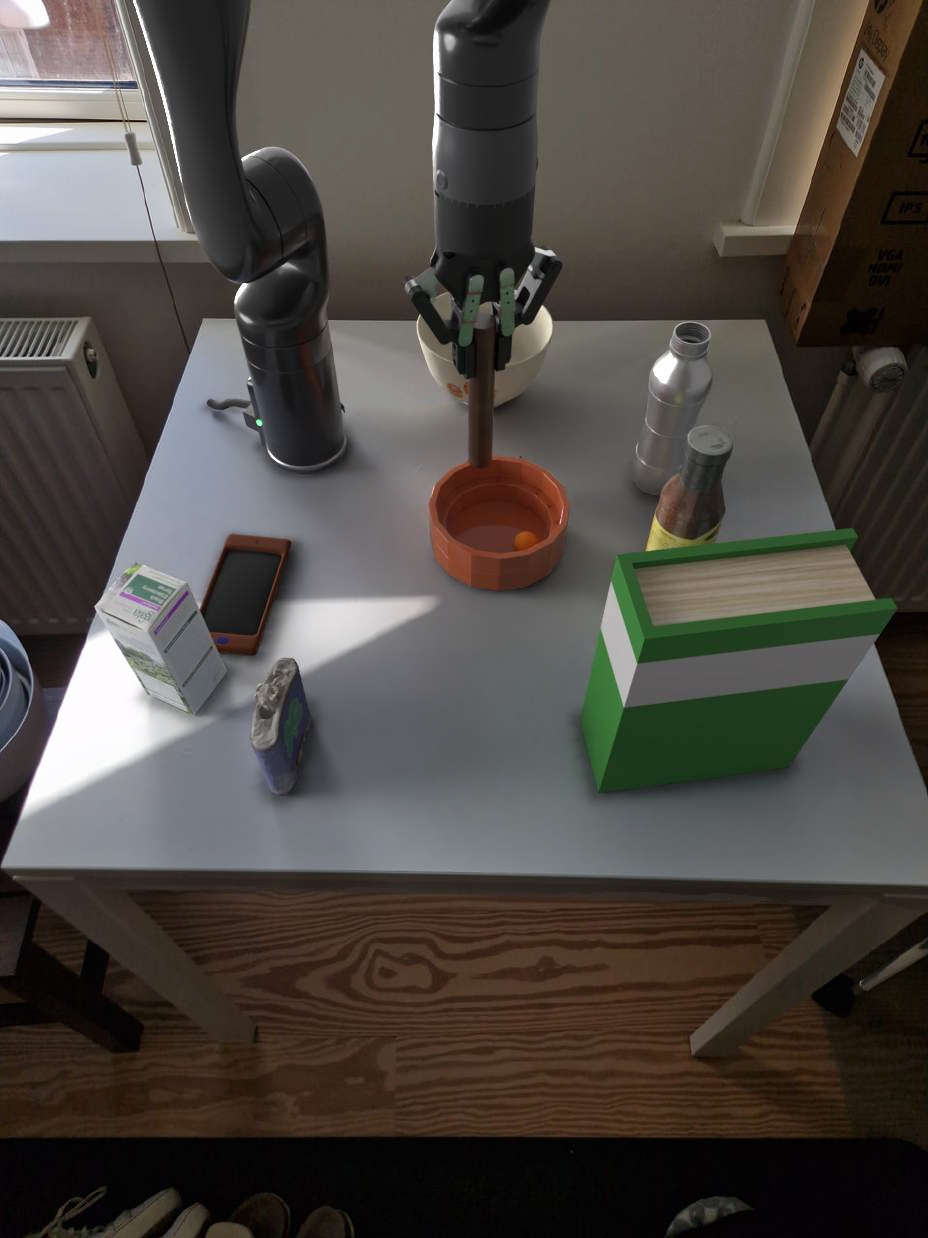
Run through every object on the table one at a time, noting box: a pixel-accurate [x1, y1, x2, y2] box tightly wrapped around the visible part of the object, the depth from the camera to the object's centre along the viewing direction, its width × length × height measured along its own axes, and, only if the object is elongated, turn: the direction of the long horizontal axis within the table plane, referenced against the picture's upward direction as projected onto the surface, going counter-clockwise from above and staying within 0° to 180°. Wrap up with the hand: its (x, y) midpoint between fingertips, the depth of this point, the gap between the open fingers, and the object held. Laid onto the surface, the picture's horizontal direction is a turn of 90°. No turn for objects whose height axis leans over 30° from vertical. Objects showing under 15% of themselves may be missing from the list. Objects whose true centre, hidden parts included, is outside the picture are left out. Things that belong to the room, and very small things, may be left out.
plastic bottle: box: [629, 321, 714, 496], centre depth 90 cm, size 6×7×20 cm
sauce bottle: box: [645, 425, 734, 551], centre depth 81 cm, size 6×6×20 cm
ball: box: [514, 531, 538, 551], centre depth 90 cm, size 3×3×3 cm
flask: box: [249, 657, 312, 796], centre depth 74 cm, size 9×3×11 cm, turn 173°
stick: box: [467, 313, 497, 469], centre depth 79 cm, size 2×2×16 cm
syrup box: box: [94, 561, 227, 716], centre depth 77 cm, size 6×6×14 cm
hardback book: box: [579, 527, 898, 794], centre depth 69 cm, size 18×7×24 cm, turn 98°
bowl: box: [416, 289, 555, 409], centre depth 104 cm, size 16×16×10 cm
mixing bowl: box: [428, 454, 571, 592], centre depth 91 cm, size 14×14×6 cm
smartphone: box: [199, 533, 292, 657], centre depth 88 cm, size 7×1×15 cm
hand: (481, 368), depth 76 cm, fingers closed on stick, 2 cm apart
